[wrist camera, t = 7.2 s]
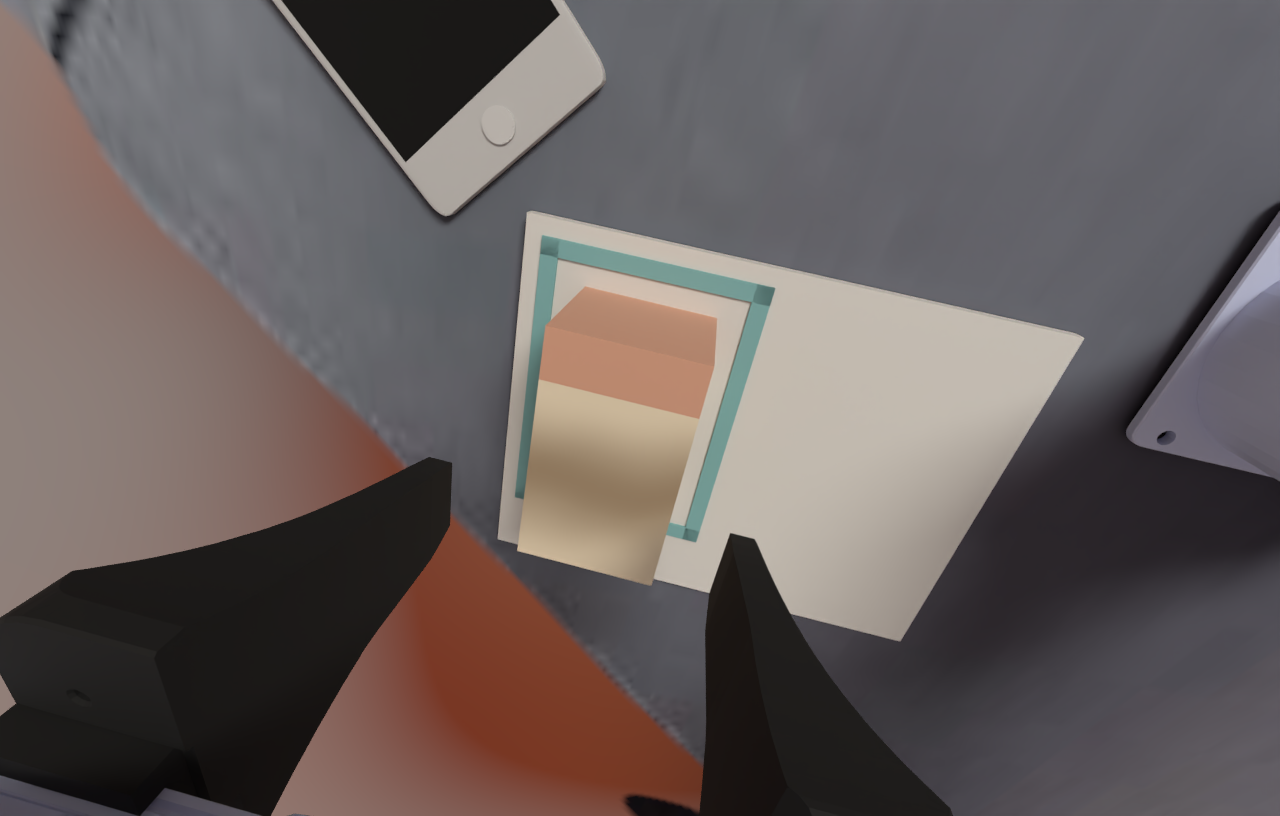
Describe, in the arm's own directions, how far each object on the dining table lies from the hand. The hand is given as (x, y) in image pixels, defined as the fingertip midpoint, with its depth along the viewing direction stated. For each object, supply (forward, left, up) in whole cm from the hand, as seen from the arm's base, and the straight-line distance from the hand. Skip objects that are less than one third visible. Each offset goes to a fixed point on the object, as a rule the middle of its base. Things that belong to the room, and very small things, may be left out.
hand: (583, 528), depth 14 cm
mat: (-4, +1, -8) cm, 9 cm away
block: (0, 0, -7) cm, 7 cm away
